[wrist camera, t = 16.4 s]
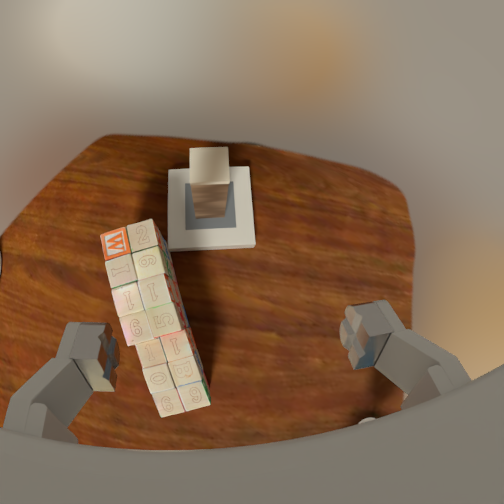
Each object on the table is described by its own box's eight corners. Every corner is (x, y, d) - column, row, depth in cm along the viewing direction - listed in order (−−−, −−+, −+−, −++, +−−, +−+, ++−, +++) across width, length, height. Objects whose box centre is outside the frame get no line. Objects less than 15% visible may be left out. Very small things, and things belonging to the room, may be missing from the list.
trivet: (170, 251, 43) (168, 248, 41) (170, 175, 45) (168, 169, 43) (253, 247, 44) (255, 244, 42) (247, 172, 47) (249, 166, 45)
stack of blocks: (211, 387, 40) (211, 414, 28) (169, 398, 38) (154, 427, 26) (168, 243, 43) (152, 216, 31) (127, 255, 42) (99, 232, 30)
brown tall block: (195, 219, 42) (189, 182, 30) (194, 191, 43) (189, 148, 31) (224, 217, 43) (229, 180, 31) (223, 190, 43) (227, 146, 32)
